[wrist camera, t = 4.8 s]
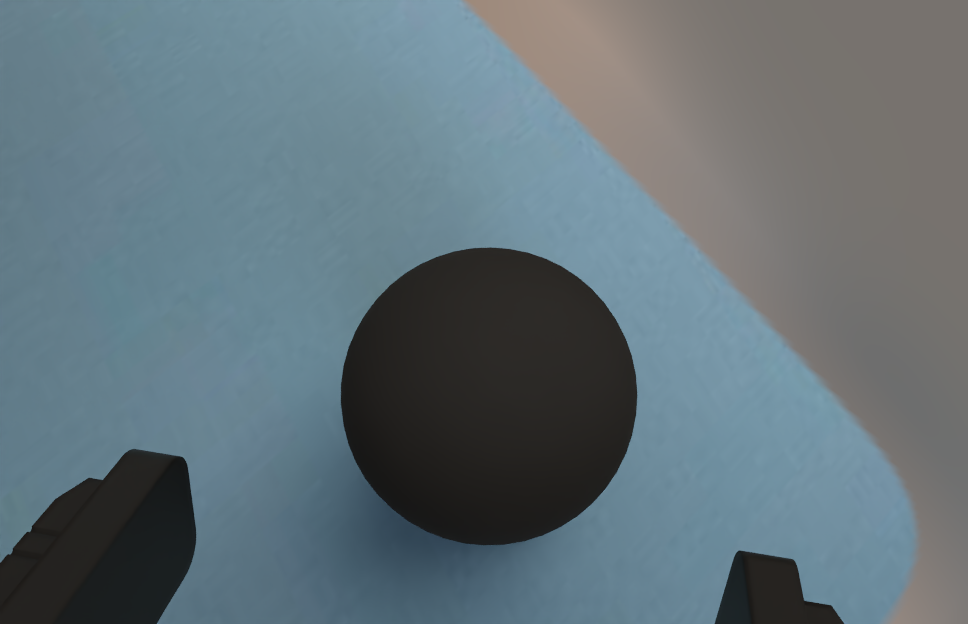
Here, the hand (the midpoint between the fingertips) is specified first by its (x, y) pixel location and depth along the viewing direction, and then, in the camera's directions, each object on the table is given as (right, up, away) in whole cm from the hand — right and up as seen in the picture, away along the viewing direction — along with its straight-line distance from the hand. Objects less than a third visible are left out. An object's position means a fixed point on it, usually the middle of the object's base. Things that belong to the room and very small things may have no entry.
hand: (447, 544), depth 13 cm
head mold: (+1, 0, +10) cm, 10 cm away
